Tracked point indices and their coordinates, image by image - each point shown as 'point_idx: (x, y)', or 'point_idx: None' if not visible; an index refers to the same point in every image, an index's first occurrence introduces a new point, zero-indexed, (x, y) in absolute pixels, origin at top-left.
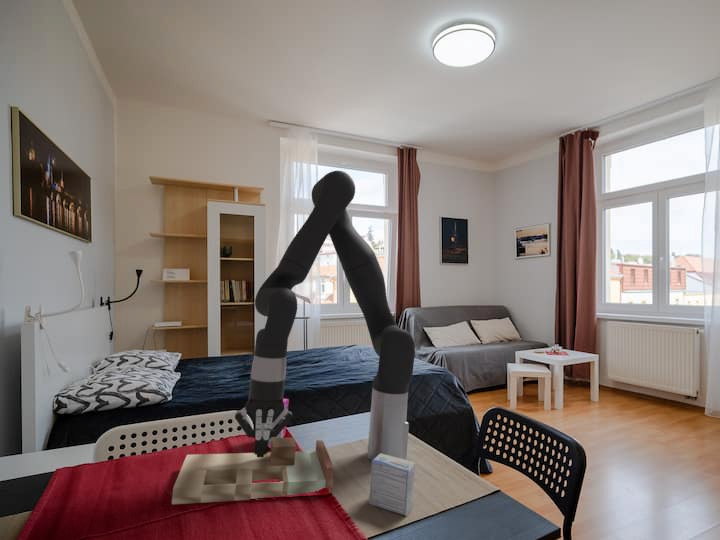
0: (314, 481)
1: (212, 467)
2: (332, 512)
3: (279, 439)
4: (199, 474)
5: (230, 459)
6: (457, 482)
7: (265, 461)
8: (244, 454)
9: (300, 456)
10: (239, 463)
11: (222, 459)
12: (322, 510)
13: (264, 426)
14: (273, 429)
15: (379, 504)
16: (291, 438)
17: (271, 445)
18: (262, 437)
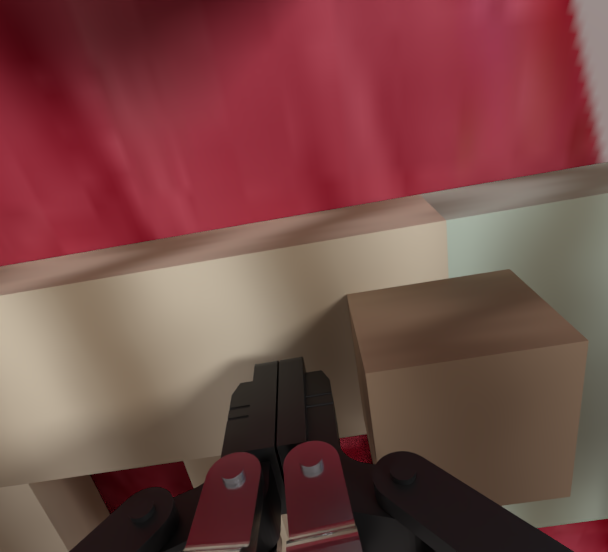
0: (584, 519)
1: (41, 459)
2: (595, 537)
3: (439, 398)
4: (18, 517)
5: (95, 368)
6: None
7: (324, 372)
8: (158, 291)
9: (566, 281)
10: (171, 408)
11: (45, 372)
12: (563, 530)
13: (289, 538)
14: (398, 533)
15: None
16: (558, 366)
17: (362, 375)
18: (283, 459)
